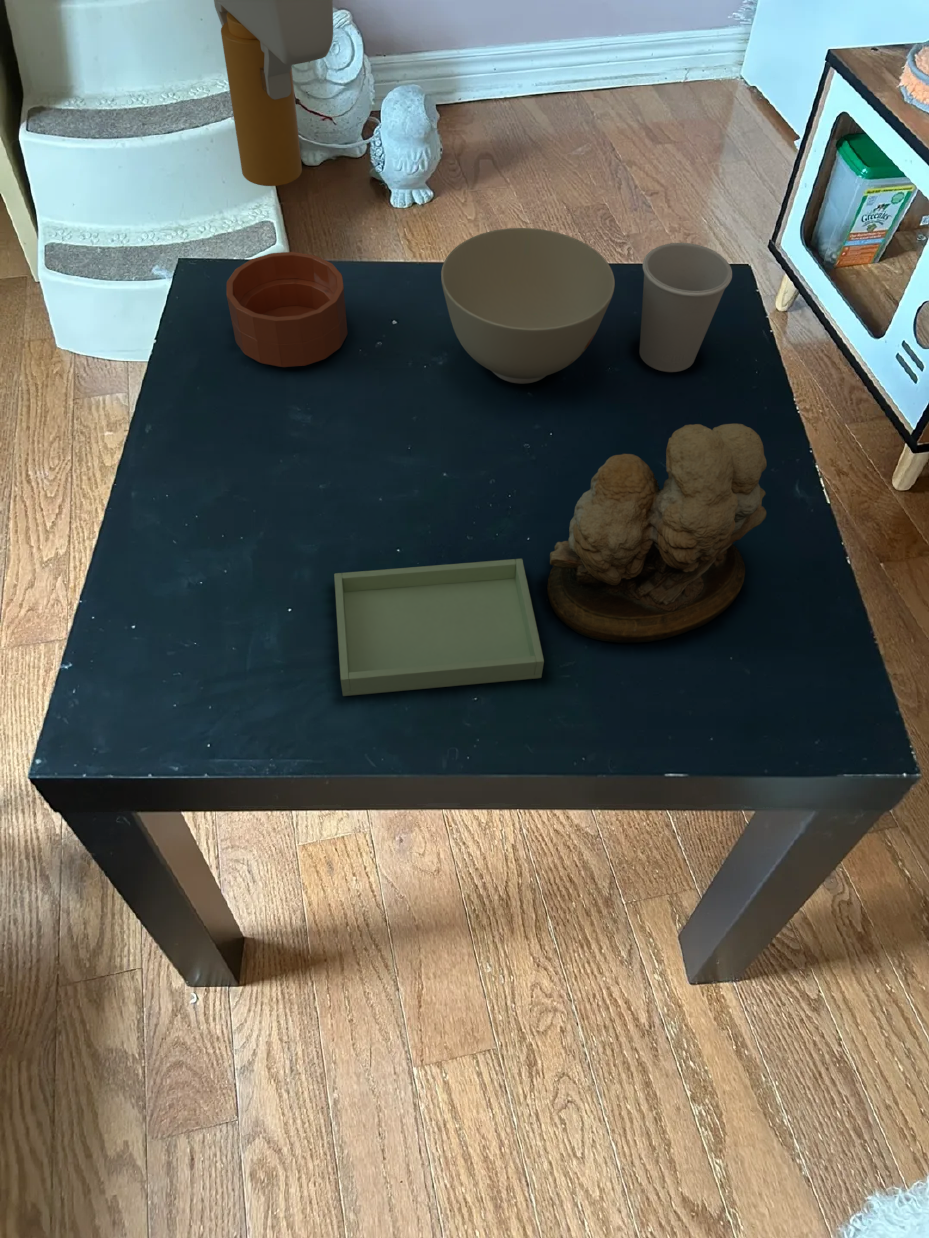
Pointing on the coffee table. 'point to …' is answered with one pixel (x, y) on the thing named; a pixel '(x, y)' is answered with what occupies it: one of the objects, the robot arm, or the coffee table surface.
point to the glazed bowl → (287, 308)
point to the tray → (435, 627)
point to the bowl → (526, 300)
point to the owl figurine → (660, 538)
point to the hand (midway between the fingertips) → (260, 78)
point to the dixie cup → (679, 302)
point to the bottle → (259, 112)
